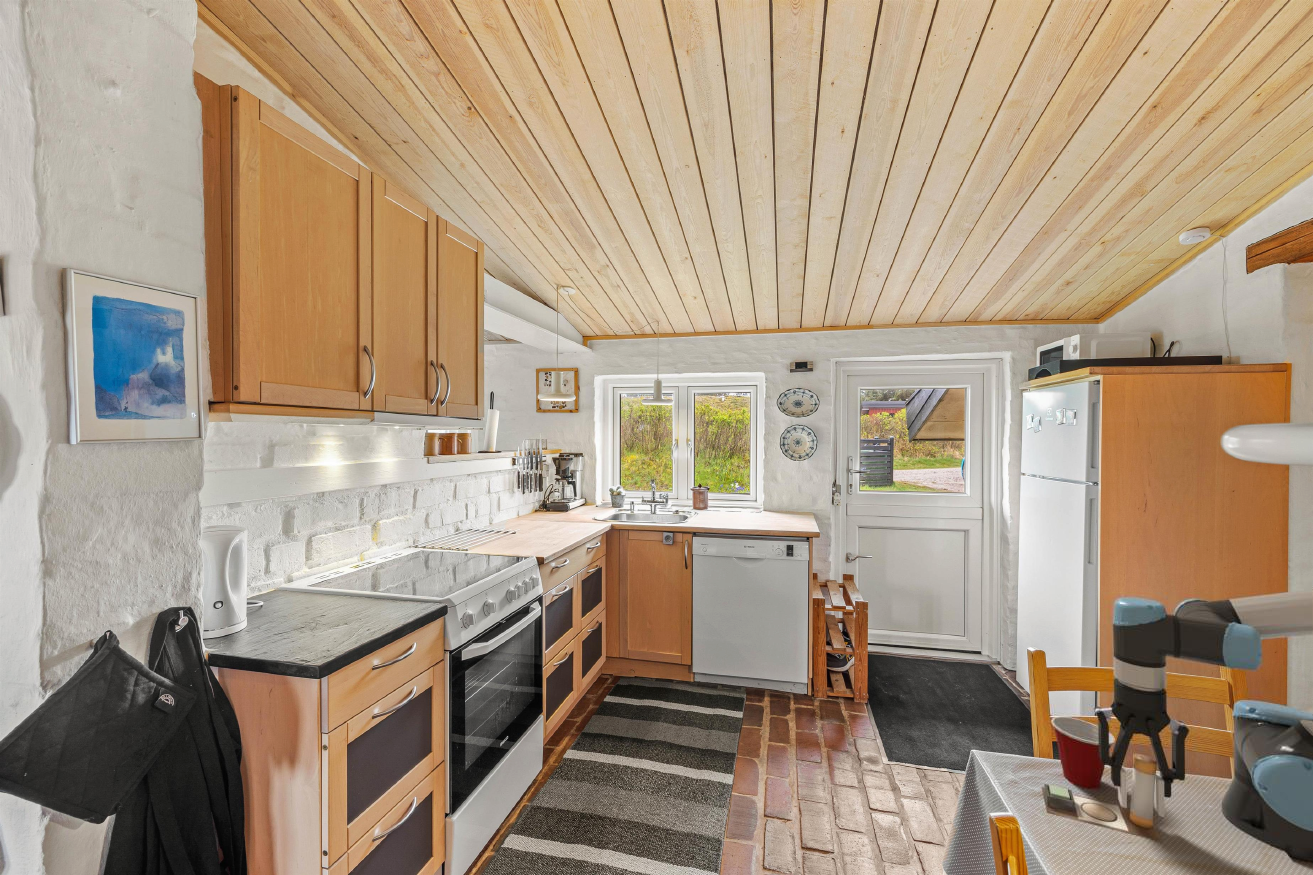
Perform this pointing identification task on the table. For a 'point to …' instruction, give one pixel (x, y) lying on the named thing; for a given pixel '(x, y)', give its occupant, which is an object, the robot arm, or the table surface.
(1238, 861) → the table surface
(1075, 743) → the plastic cup
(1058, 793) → the button
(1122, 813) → the board
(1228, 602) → the robot arm
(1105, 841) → the table surface
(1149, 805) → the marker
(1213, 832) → the table surface
